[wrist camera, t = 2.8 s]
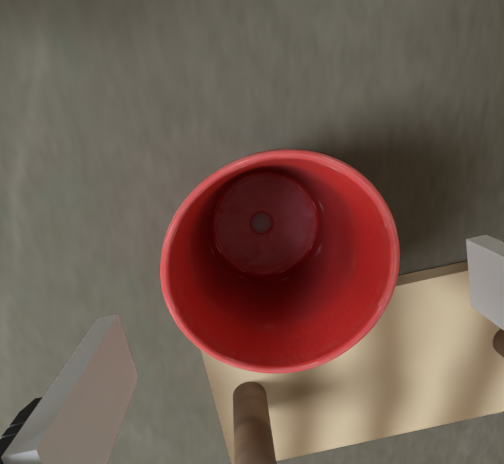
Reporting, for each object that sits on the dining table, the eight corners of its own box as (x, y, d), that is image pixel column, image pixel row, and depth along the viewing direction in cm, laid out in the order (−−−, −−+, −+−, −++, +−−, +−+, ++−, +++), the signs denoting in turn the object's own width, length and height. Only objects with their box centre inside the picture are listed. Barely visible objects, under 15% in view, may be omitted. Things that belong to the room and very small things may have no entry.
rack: (232, 454, 32) (235, 585, 23) (196, 319, 29) (183, 409, 20) (530, 390, 33) (649, 494, 23) (526, 248, 29) (661, 305, 20)
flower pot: (164, 157, 26) (131, 176, 17) (333, 126, 26) (392, 129, 17) (198, 307, 29) (186, 394, 20) (351, 278, 29) (410, 352, 20)
